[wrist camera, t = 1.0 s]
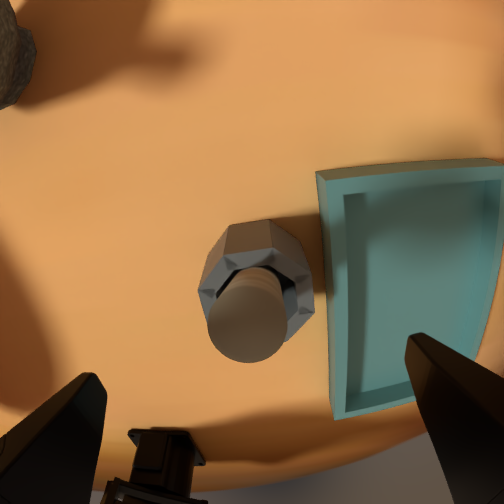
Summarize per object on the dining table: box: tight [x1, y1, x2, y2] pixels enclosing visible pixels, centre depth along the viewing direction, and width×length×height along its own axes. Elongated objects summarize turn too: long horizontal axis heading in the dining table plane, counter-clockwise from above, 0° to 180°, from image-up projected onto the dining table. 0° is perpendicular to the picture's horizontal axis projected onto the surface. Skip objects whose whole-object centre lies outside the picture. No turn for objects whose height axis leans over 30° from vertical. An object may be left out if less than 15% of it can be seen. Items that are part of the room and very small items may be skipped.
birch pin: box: [207, 265, 288, 363], centre depth 14 cm, size 5×2×9 cm, turn 9°
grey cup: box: [198, 219, 315, 342], centre depth 17 cm, size 5×5×4 cm
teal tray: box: [315, 158, 504, 421], centre depth 19 cm, size 18×12×2 cm, turn 9°
